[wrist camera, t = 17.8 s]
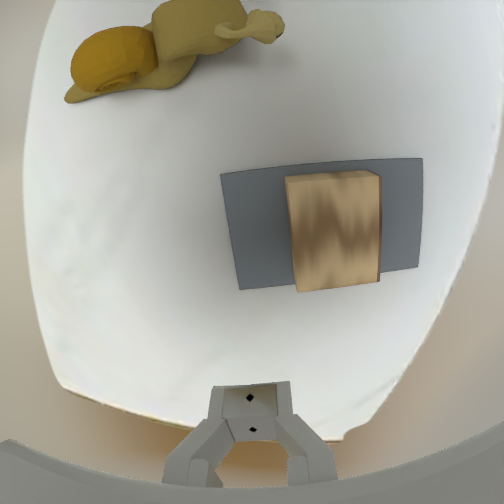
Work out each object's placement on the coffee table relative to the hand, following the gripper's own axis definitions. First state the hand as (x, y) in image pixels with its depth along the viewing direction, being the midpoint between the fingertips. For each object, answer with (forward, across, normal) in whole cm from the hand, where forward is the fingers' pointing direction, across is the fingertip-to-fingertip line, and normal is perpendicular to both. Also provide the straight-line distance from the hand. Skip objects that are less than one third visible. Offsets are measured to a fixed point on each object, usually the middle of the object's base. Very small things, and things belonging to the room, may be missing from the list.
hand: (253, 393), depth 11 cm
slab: (+18, -3, +1) cm, 18 cm away
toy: (+20, +7, -18) cm, 28 cm away
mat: (+20, -7, +1) cm, 21 cm away
